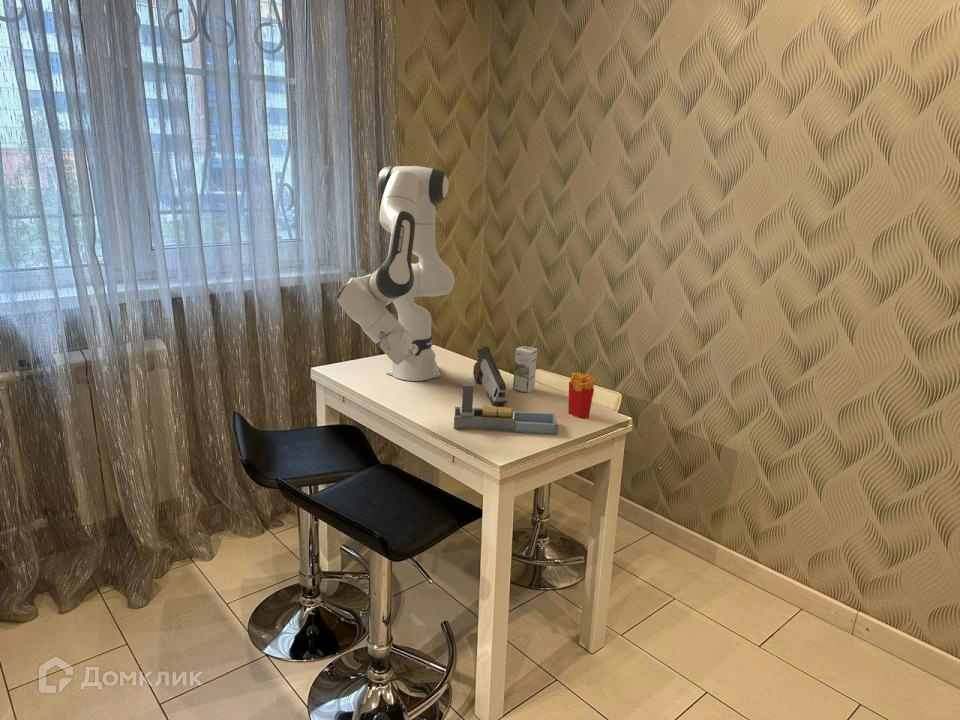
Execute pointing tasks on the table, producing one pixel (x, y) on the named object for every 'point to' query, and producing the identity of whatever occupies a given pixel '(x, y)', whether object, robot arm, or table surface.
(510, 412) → the mustard yellow cube
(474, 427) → the slot bed
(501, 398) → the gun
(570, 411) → the french fries
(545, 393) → the table surface
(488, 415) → the golden tan cube
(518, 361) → the syrup box
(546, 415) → the tray
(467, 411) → the tall gray pillar
